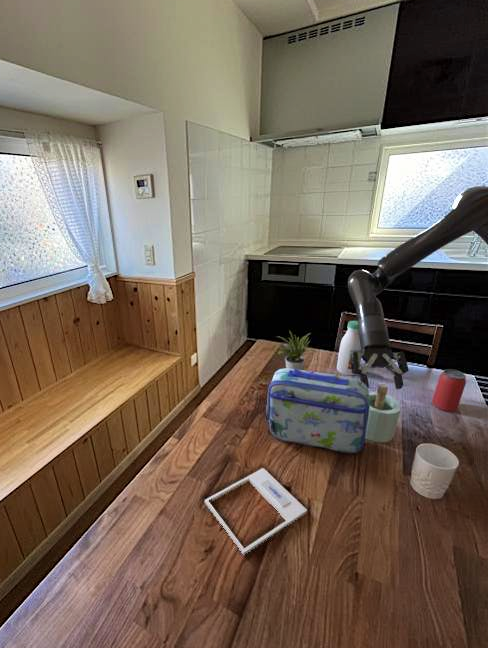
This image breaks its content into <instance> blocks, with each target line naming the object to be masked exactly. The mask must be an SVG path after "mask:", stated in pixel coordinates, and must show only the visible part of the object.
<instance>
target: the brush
mask: <svg viewBox="0 0 488 648" xmlns="http://www.w3.org/2000/svg"><path fill="white" fill-rule="evenodd" d="M388 387H389V386H388V384H386V383H383V382H382V383H381V382H380V383H378V387H377V390H376V393H377V395H376V400H375V405H374V408H376V409H379V410H383V406H384V402H385V397H386V395H387V392H388Z"/></svg>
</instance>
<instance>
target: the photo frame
mask: <svg viewBox="0 0 488 648" xmlns="http://www.w3.org/2000/svg"><path fill="white" fill-rule="evenodd" d="M247 481H248V482H249V483H250V485H251V486H252V487H253V488H254V487H255V488H254V489H255V490H256V491H257V492H258V493H259V494H260V496H261V497H263V498H264V499H265V500H266V502H268V504H269V505H270V504H271V505H272V506H273V507H274V508H275V509H276V510H277V511H278V512H277V511H276V510H275V509H274V508H273V507H272V506H271V505H270V506H271V507H272V508H273V509H274V510H275V511H276V512H277V514H279V513H280V514H279V516H281V517H282V519H283V520H285V521H283V522H282V523H280V524H278V525H277V526H276V527H274V528H273V529H271V530H270V531H268V532H267V533H265V534H264V535H262V536H261V537H259V538H257V539H256V540H255V541H253V542H252V543H250V544H249V545H247V546H246V547H244V546H243V545H242V544H241V542H240V541H239V540H238V538H237V537H236V536H235V534H234V533H233V532H232V530H231V529H230V527H229V525H227V523H226V522H225V521H224V519H223V518H222V517H221V516H220V514H219V512H217V510H216V509H215V507H214V506H213V505H212V504H211V502H209V500H211V499H212V502H214V501H215V499H216V500H218V499H220V498H221V497H223V496H224V494H225V495H227V494H228V493H230V492H231V490H232V491H234V490H235V489H237V488H239V487H240V485H241V486H242V485H244V484H246V483H248V482H247ZM238 486H239V487H238ZM229 491H230V492H229ZM227 492H228V493H227ZM222 495H223V496H222ZM204 504H205V506H206V507H207V508H208V510H209V509H210V510H209V511H210V512H211V514H212V513H213V514H212V515H213V517H214V518H215V517H216V518H215V519H216V520H217V522H218V521H219V522H218V523H219V524H221V525H222V526H223V527H222V526H221V525H220V526H221V527H222V529H223V528H224V529H225V530H226V531H225V530H224V529H223V530H224V531H225V533H226V532H227V533H228V534H227V533H226V534H227V536H228V537H229V536H230V537H229V538H230V539H232V540H233V541H232V540H231V541H232V542H233V543H235V544H236V545H237V546H236V545H235V544H234V545H235V546H236V548H237V547H238V548H239V549H238V548H237V549H238V550H239V552H240V551H241V552H240V553H241V555H242V554H243V555H242V556H243V557H244V556H246V555H247V554H249V553H250V552H251V550H252V549H253V550H254V549H256V548H258V547H259V546H260V545H262V544H263V543H265V542H266V541H268V540H269V539H270V538H269V537H271V536H272V537H274V536H275V535H276V534H275V533H277V532H278V531H280V530H281V529H283V528H284V527H286V526H287V525H288V526H290V525H291V524H293V523H294V522H296V521H297V520H299V519H300V518H302V517H303V516H305V515H307V514H308V509H307V508H306V507H305V506H303V504H301V502H299V501H298V500H297V499H296V498H295V497H294V495H292V494H291V493H290V492H289V491H288V490H287V489H286V488H285V487H284V486H283V485H282V484H281V483H280V482H279V481H277V480H276V479H275V478H274V477H273V476H272V475H271V474H270V473H269V472H268V471H267V470H266V469H265V468H264V467H262V468H260V469H257V470H256V471H254V472H253V473H251V474H249V475H247V476H245V477H244V478H242V479H240V480H238V481H236V482H234V483H233V484H231V485H229V486H227V487H226V488H224V489H221V490H220V491H218V492H216V493H214V494H213V495H211V496H209V497H207V498H206V499H204ZM298 518H299V519H298ZM295 520H296V521H295ZM292 522H293V523H292ZM289 524H290V525H289ZM288 526H287V527H288ZM287 527H286V528H287ZM284 529H285V528H284ZM284 529H283V530H284ZM281 531H282V530H281ZM281 531H280V532H281ZM278 533H279V532H278ZM278 533H277V534H278ZM274 534H275V535H274ZM273 535H274V536H273ZM272 537H271V538H272ZM268 538H269V539H268ZM267 539H268V540H267ZM265 540H266V541H265ZM264 541H265V542H264ZM262 542H263V543H262ZM261 543H262V544H261ZM259 544H260V545H259ZM258 545H259V546H258ZM255 547H256V548H255ZM253 550H252V551H253ZM248 552H249V553H248ZM246 553H247V554H246ZM245 554H246V555H245Z"/></svg>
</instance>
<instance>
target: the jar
mask: <svg viewBox="0 0 488 648" xmlns="http://www.w3.org/2000/svg"><path fill="white" fill-rule="evenodd" d="M376 395H377V391H376V392H374V391H371V392H370V391H369V404H370V411H369V419H368V424H367V429H366V435H365V440H368V441H371V442H375V443H388V442H391V441H392V440H393V438H395V437H394V436H395V433H396V429H397V425H398V422H399V417H400V414H401V409H402V405H401V403H400V402H399V401H398V400H397V399H396V398H394V397H393V396H390V395H388V394H386V397H385V402H384V406H383V410H379V409H376V408H374V405H375V400H376Z"/></svg>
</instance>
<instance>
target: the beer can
mask: <svg viewBox="0 0 488 648" xmlns="http://www.w3.org/2000/svg"><path fill="white" fill-rule="evenodd" d="M466 377H467V376H466V374H465V373H464V372H462V371H460V370H457V369H453V368H451V369H450V368H447V369H446V368H445V369H443V371H442V373H441V374H440V375H439V377H438V380H437V384H436V386H435V389H434V393H433V397H432V400H431V403H432V405H433V406H434V407H435V408H437V409H438V410H441V411H444V412H456V411H457V410H458V407H459V405H460V402H461V399H462V396H463V393H464V390H465V387H466V384H467V378H466Z"/></svg>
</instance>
